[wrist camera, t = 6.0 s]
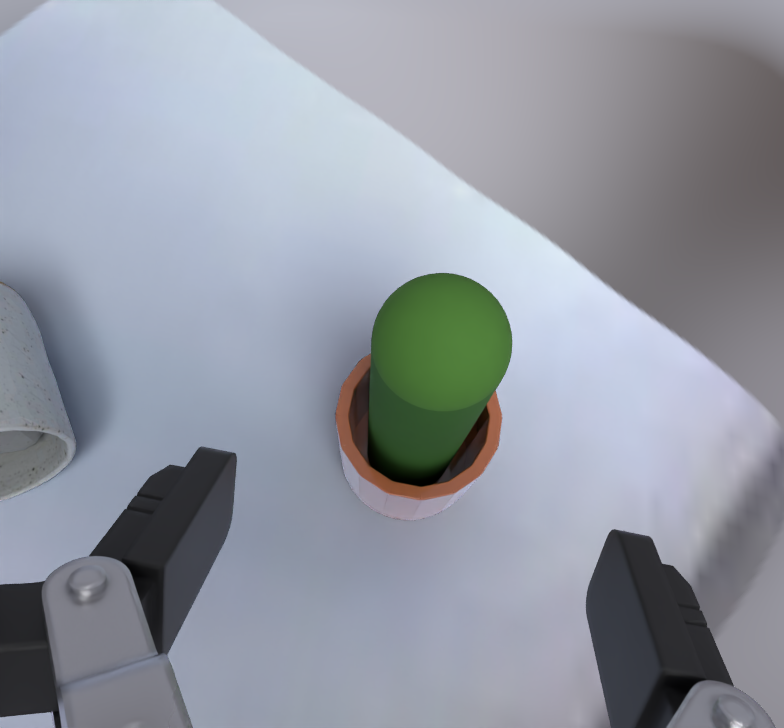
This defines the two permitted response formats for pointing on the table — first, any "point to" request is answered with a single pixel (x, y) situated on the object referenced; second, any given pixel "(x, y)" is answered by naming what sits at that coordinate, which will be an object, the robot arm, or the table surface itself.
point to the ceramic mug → (28, 404)
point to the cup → (400, 496)
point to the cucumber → (432, 373)
